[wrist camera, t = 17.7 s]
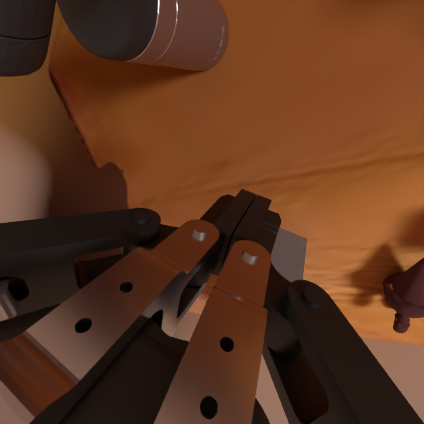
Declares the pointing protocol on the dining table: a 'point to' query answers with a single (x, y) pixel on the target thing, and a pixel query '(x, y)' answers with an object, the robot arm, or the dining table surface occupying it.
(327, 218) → the dining table surface
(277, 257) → the console
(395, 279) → the icecream
